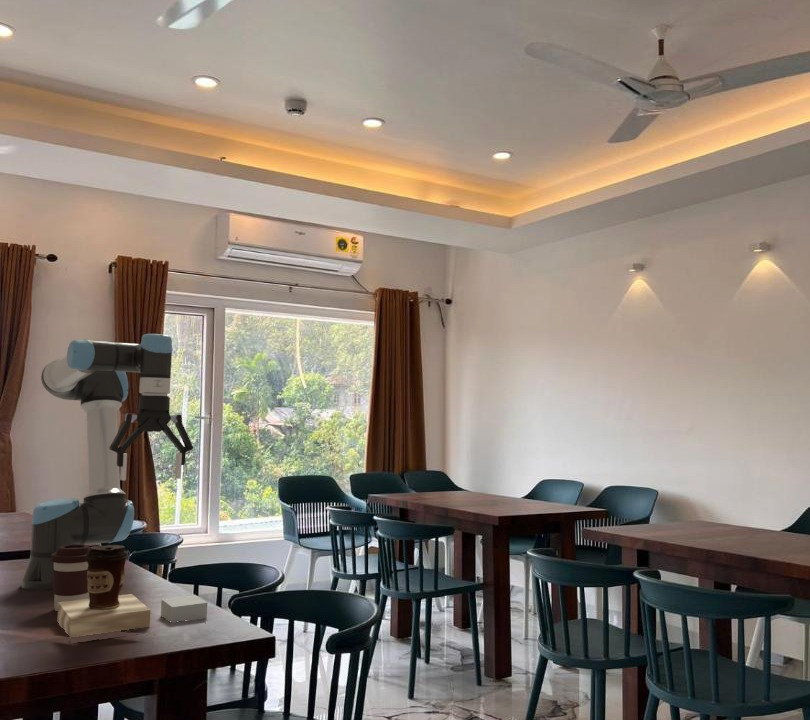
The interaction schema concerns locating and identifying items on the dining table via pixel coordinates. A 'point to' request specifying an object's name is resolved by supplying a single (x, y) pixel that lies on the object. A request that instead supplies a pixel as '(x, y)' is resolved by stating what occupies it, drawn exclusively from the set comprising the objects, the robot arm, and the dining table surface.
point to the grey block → (183, 608)
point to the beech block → (102, 616)
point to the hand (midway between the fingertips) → (150, 479)
